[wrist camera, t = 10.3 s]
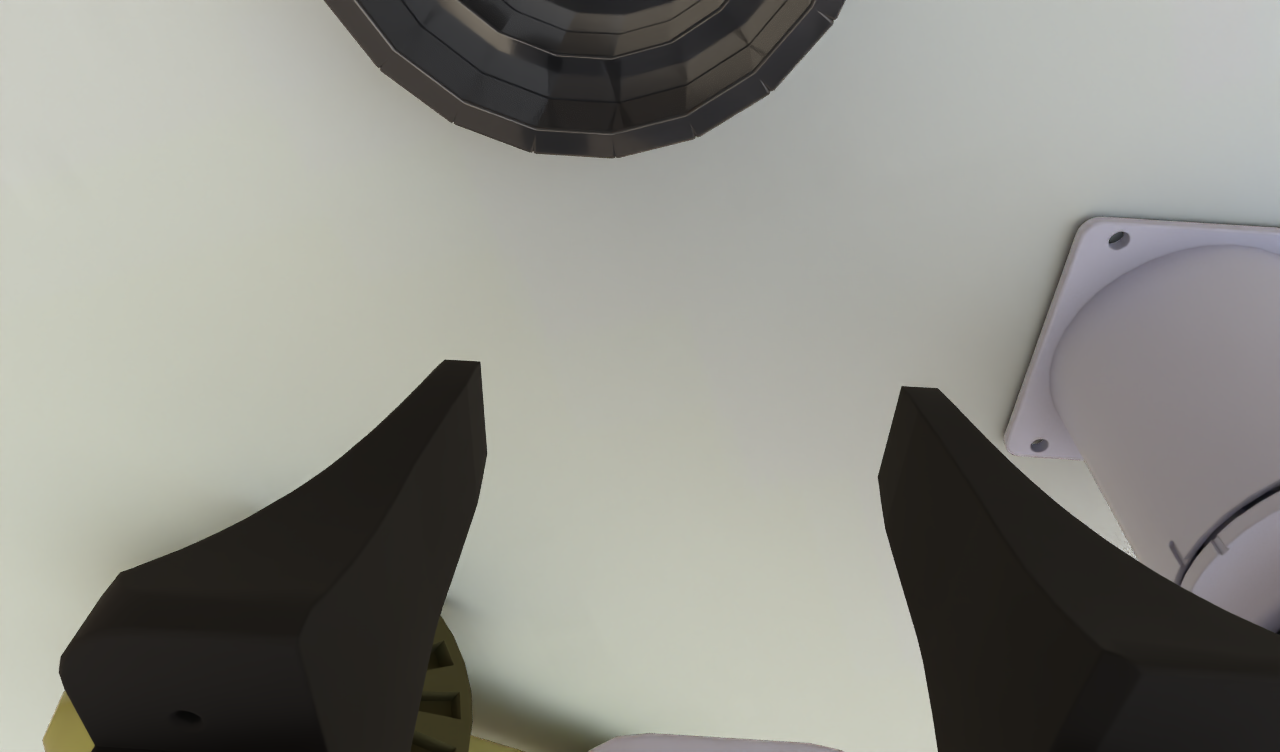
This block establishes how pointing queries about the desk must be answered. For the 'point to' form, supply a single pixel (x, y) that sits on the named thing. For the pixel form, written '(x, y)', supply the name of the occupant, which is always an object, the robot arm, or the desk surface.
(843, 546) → the desk surface
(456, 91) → the bowl
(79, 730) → the cannon
